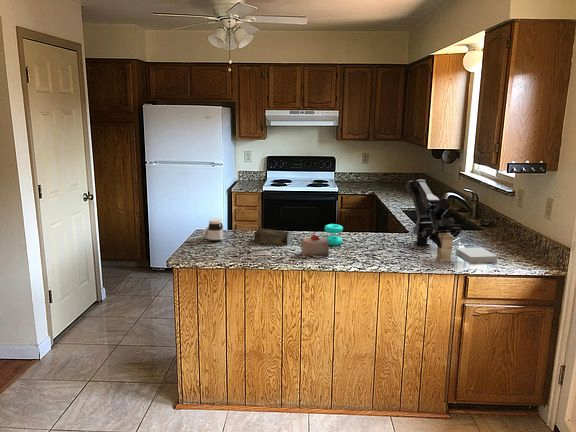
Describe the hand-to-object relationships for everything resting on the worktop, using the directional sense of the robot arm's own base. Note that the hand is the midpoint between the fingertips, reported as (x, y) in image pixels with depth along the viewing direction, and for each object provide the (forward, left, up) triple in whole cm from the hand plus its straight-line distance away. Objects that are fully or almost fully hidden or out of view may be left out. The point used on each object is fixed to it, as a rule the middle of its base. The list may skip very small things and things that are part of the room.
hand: (445, 247), depth 224 cm
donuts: (-33, -48, -7) cm, 59 cm away
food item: (-17, -62, -7) cm, 64 cm away
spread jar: (-46, -113, -7) cm, 122 cm away
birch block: (-1, 0, -7) cm, 7 cm away
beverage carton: (-39, -80, -7) cm, 90 cm away
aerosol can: (-56, +15, -7) cm, 59 cm away
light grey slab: (-2, +18, -7) cm, 19 cm away
